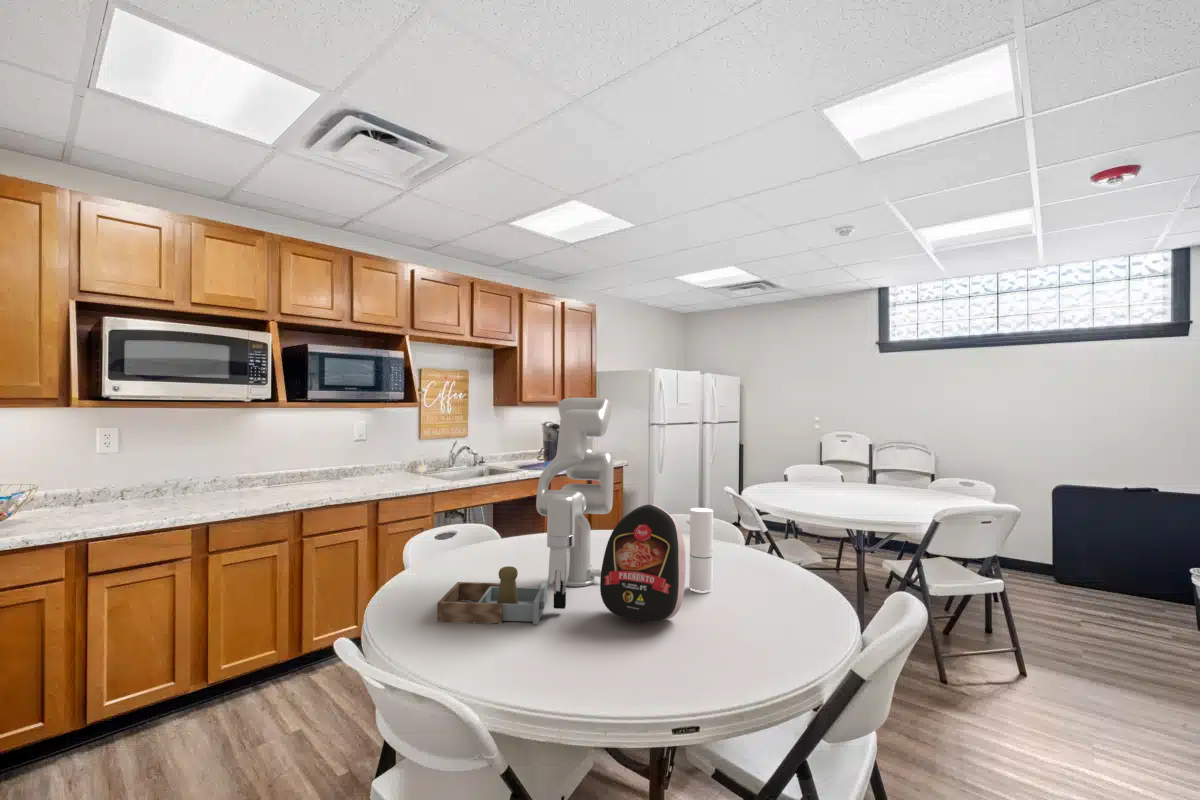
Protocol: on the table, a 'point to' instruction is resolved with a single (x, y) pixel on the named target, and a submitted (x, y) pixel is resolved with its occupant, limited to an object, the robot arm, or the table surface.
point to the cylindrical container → (701, 549)
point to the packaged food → (644, 566)
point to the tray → (521, 603)
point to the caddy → (468, 605)
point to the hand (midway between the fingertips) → (559, 607)
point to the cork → (508, 585)
